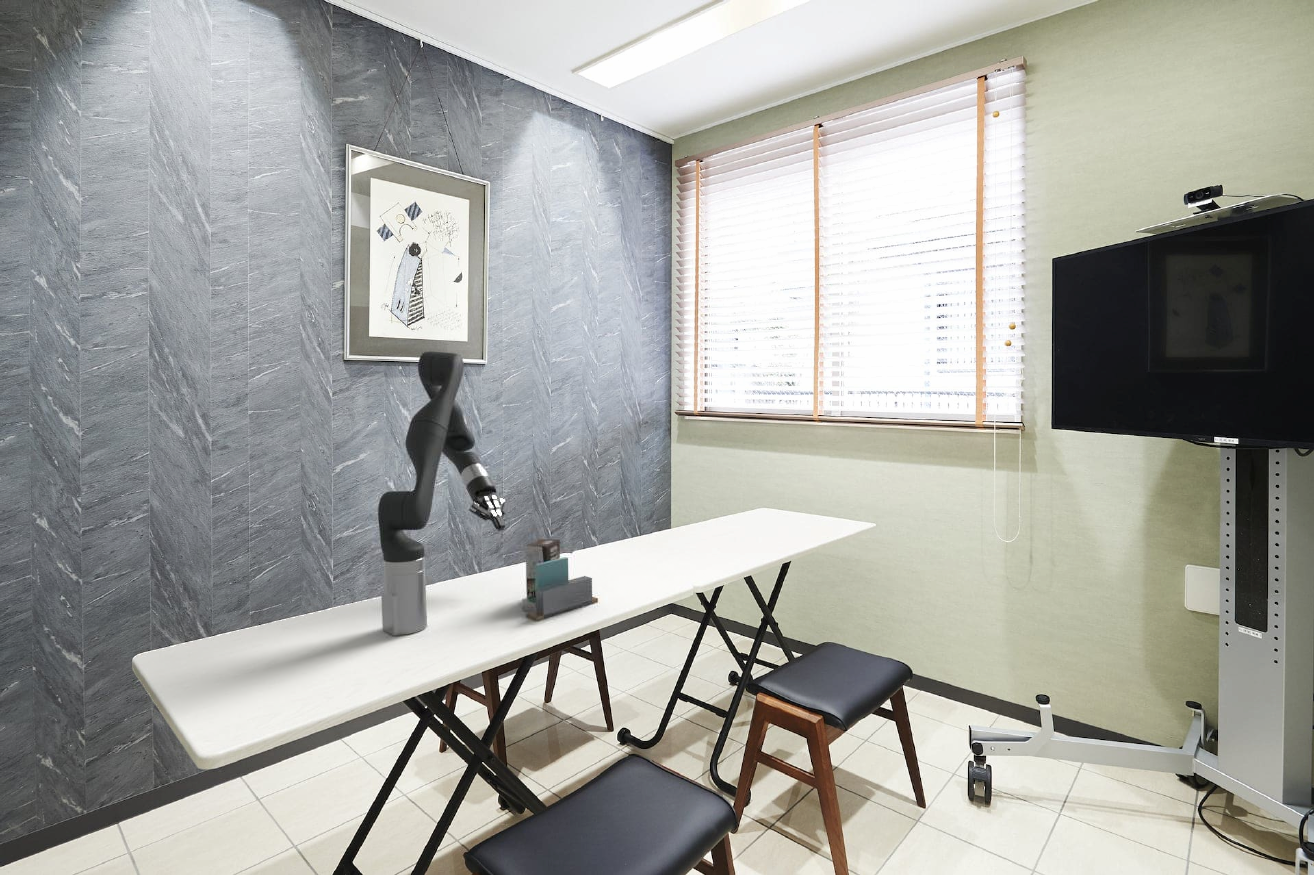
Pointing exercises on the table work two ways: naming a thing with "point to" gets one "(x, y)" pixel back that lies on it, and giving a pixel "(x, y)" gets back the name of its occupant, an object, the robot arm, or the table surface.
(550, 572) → the teal flat panel
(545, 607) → the grey piece
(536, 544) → the coffee box
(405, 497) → the robot arm
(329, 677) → the table surface
